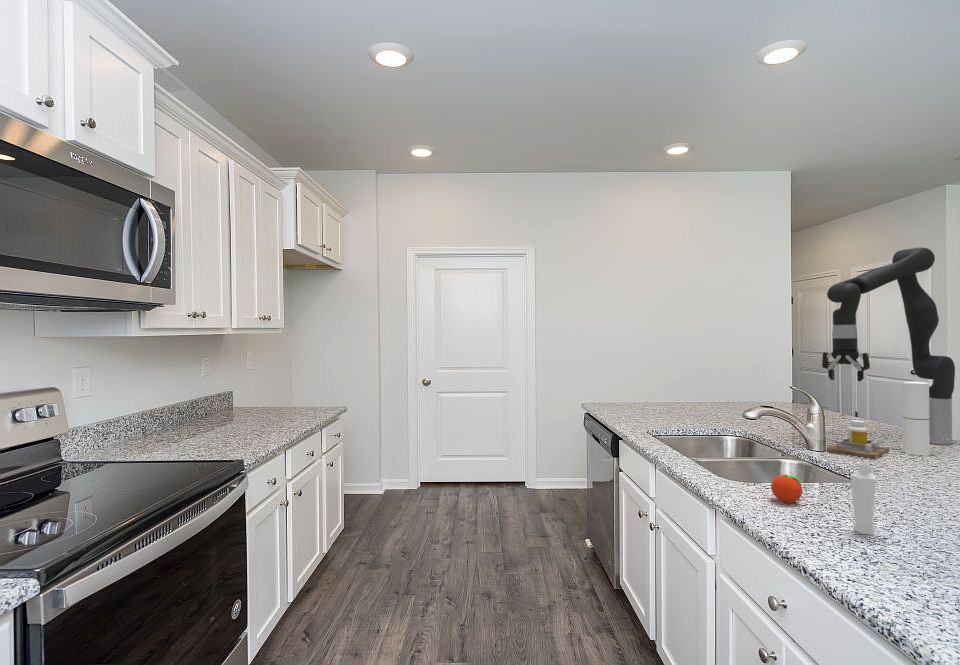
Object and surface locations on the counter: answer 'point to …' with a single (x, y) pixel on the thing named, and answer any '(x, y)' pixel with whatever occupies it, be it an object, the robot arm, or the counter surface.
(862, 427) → the supplement bottle
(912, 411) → the cylindrical container
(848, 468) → the counter surface
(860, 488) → the perfume bottle
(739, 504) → the counter surface
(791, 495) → the clementine
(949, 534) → the counter surface
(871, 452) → the socket board
